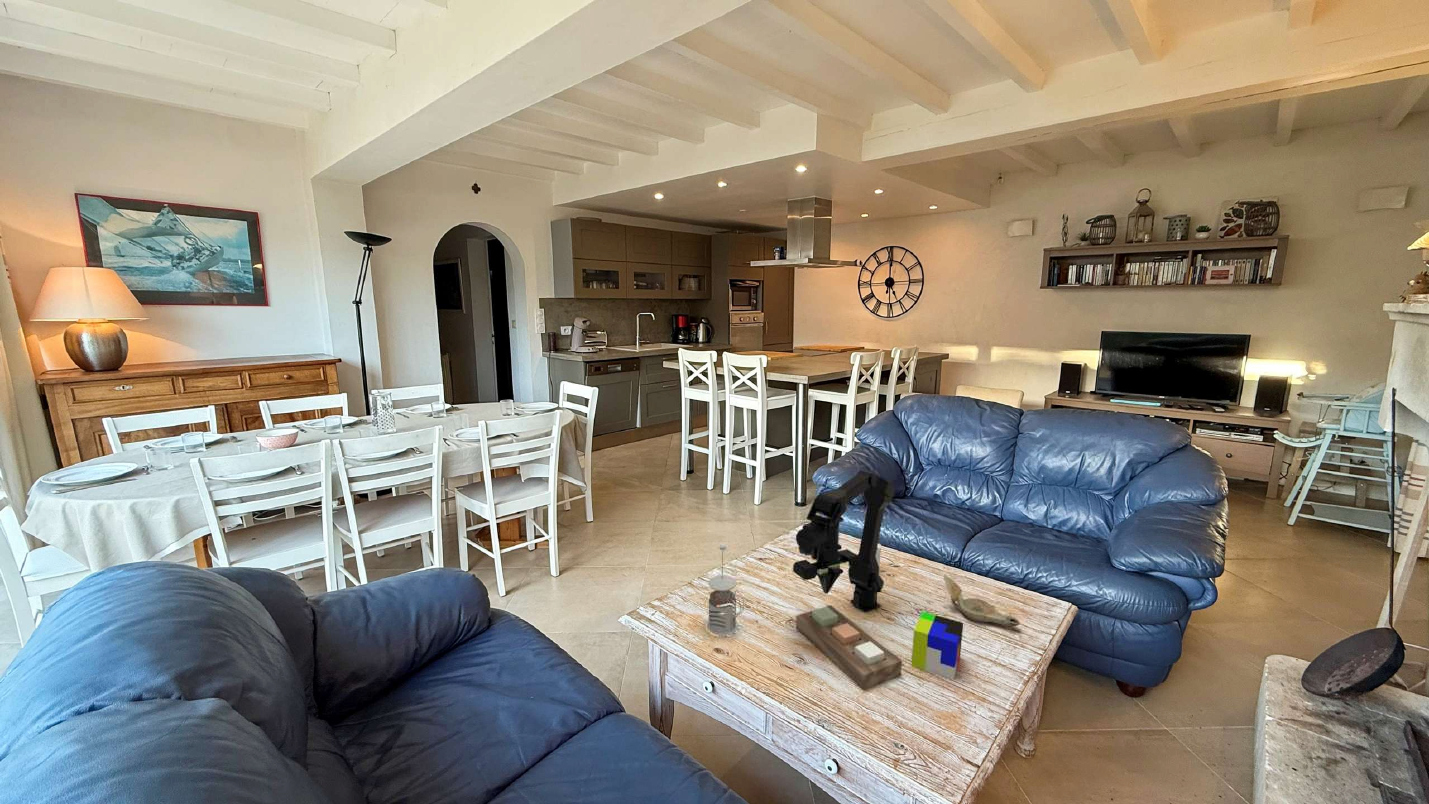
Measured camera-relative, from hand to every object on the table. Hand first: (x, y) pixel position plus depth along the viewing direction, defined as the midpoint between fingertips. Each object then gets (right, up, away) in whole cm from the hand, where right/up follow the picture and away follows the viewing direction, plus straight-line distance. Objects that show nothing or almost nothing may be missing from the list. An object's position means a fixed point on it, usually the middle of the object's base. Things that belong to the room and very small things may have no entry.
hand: (825, 592), depth 153 cm
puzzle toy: (+26, -14, -10) cm, 32 cm away
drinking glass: (+22, -6, +36) cm, 43 cm away
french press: (-28, -12, +4) cm, 30 cm away
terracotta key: (+4, -10, -6) cm, 13 cm away
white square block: (+8, -12, -14) cm, 20 cm away
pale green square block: (0, -9, +2) cm, 9 cm away
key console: (+4, -13, -6) cm, 15 cm away
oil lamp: (+47, -11, +9) cm, 49 cm away
